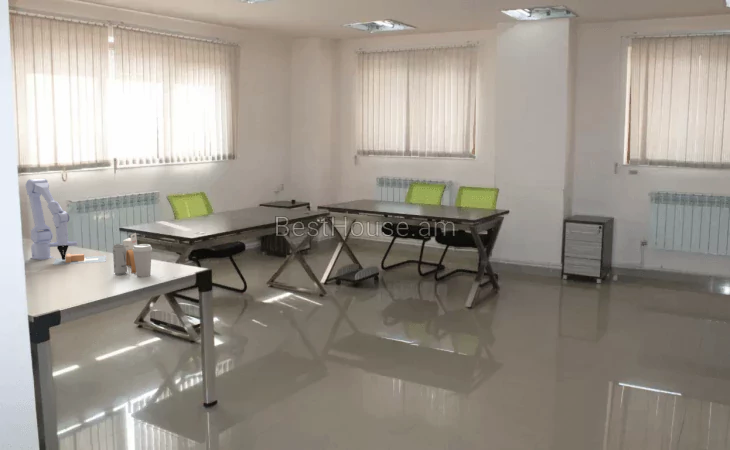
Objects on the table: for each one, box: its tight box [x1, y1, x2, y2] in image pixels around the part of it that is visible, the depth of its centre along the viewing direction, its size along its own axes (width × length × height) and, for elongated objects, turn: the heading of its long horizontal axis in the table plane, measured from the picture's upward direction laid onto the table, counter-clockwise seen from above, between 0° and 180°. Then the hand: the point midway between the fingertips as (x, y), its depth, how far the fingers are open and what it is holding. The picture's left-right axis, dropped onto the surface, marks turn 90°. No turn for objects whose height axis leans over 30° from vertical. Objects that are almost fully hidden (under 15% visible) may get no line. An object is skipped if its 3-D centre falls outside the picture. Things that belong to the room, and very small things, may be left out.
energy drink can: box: [112, 242, 128, 276], centre depth 329 cm, size 6×6×15 cm
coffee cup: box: [132, 243, 153, 278], centre depth 326 cm, size 10×10×15 cm
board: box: [52, 255, 107, 266], centre depth 360 cm, size 26×18×1 cm
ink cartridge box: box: [122, 232, 138, 252], centre depth 362 cm, size 9×5×15 cm, turn 179°
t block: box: [65, 253, 85, 263], centre depth 359 cm, size 9×10×3 cm
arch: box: [126, 250, 136, 274], centre depth 342 cm, size 6×20×10 cm, turn 27°
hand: (63, 259), depth 357 cm, fingers closed
